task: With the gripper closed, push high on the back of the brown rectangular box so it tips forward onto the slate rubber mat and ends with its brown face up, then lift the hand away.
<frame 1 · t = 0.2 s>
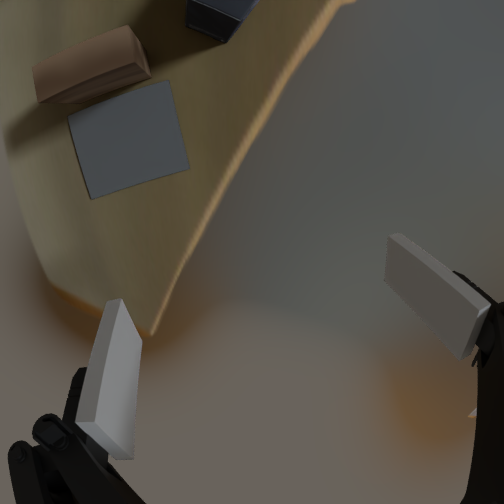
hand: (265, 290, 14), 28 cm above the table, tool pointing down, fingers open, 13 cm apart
small box: (226, 6, 28), on the table
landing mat: (126, 140, 34), on the table
brown rectangular box: (111, 76, 30), on the table
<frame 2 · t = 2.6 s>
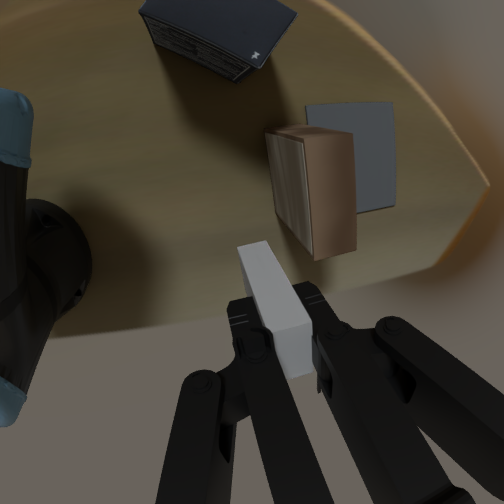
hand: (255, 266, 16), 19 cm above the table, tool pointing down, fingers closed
small box: (210, 39, 25), on the table
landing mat: (356, 158, 34), on the table
brown rectangular box: (287, 169, 33), on the table
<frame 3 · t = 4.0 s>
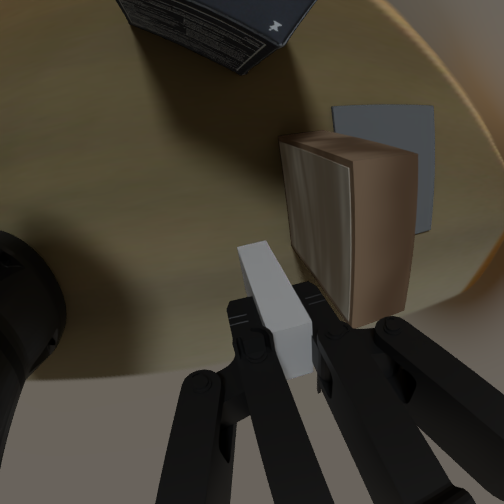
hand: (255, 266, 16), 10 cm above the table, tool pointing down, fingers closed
small box: (205, 17, 18), on the table
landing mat: (391, 175, 26), on the table
brown rectangular box: (307, 189, 25), on the table
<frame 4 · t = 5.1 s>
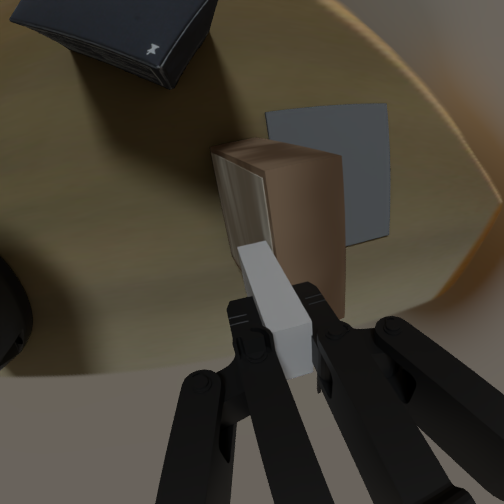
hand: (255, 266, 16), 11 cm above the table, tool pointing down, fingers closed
small box: (137, 35, 18), on the table
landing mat: (337, 179, 27), on the table
brown rectangular box: (243, 198, 26), on the table, tilted 7°, touching gripper
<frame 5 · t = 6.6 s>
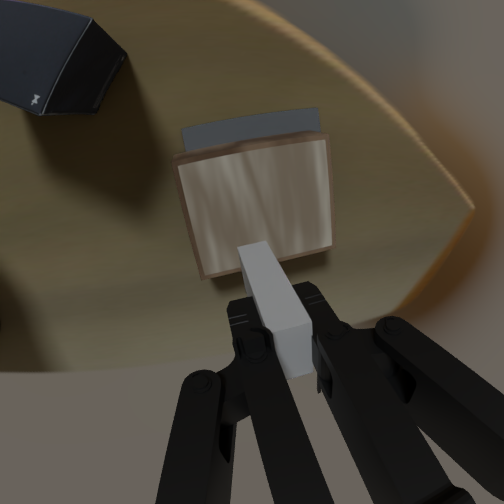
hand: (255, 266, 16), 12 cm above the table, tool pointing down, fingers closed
small box: (66, 64, 18), on the table
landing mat: (263, 191, 27), on the table
brown rectangular box: (186, 216, 24), point 2 cm above the table, tilted 90°, touching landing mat
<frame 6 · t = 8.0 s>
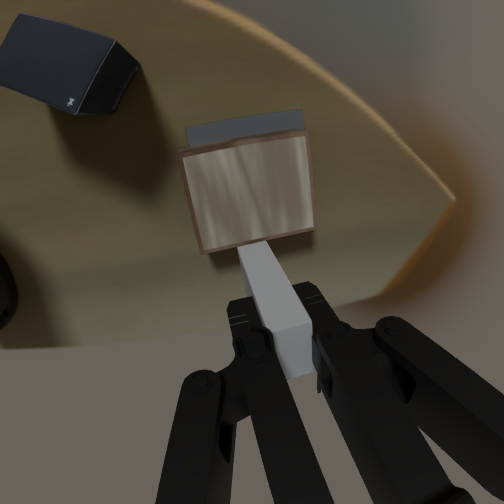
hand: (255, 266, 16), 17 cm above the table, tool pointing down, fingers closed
small box: (88, 72, 23), on the table
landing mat: (255, 181, 32), on the table
brown rectangular box: (189, 201, 29), point 2 cm above the table, tilted 90°, touching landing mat
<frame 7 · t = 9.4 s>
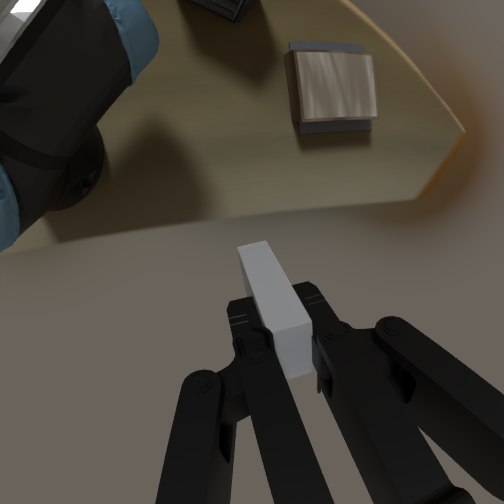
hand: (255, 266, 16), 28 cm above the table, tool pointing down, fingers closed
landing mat: (333, 86, 38), on the table
brown rectangular box: (292, 86, 35), point 2 cm above the table, tilted 90°, touching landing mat
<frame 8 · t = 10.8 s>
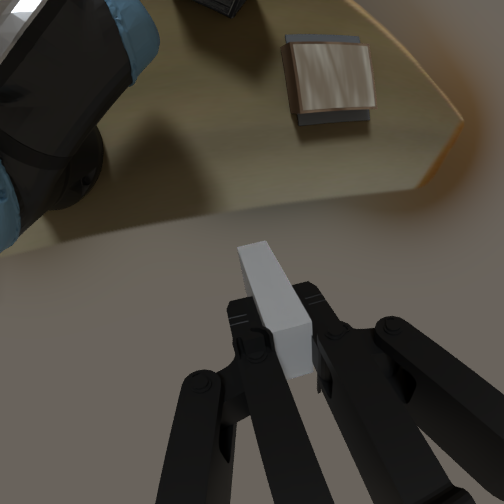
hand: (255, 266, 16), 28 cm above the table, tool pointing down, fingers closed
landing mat: (330, 77, 38), on the table
brown rectangular box: (290, 78, 35), point 2 cm above the table, tilted 90°, touching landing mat
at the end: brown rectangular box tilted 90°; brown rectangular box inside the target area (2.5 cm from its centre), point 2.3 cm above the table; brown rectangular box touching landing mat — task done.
